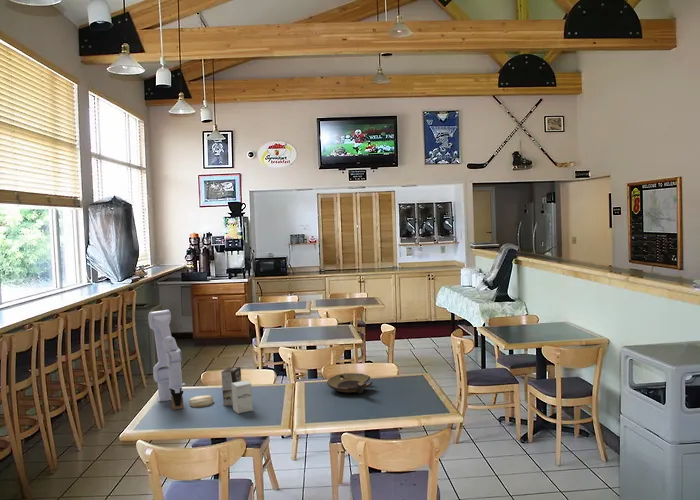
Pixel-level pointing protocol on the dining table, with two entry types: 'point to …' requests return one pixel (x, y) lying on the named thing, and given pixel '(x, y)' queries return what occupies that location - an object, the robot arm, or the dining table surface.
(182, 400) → the walnut block
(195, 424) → the dining table surface
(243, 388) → the supplement box
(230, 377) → the coffee box
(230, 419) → the dining table surface
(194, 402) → the birch board
